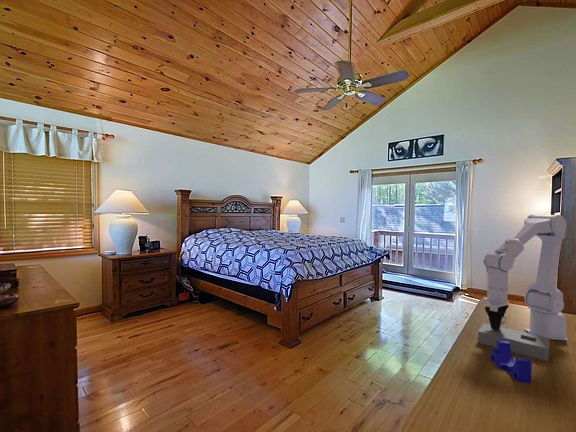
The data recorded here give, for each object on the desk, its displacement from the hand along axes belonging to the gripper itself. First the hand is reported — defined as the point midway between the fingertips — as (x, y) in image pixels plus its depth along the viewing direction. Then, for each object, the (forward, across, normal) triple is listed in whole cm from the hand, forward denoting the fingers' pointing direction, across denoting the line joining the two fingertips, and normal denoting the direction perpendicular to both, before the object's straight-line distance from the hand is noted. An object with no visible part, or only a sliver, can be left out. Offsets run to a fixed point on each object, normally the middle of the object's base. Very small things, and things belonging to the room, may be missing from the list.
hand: (496, 326), depth 101 cm
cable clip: (+6, +18, +6) cm, 20 cm away
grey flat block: (+5, 0, +4) cm, 7 cm away
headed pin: (+1, 0, 0) cm, 1 cm away
